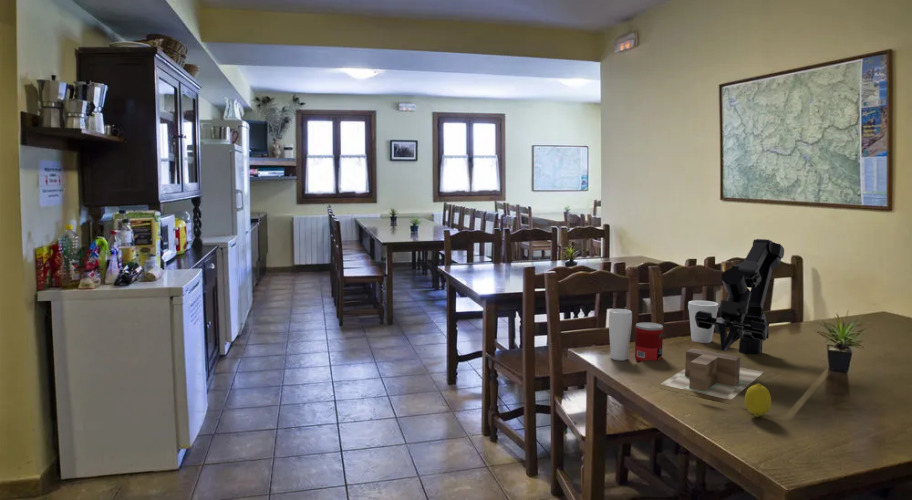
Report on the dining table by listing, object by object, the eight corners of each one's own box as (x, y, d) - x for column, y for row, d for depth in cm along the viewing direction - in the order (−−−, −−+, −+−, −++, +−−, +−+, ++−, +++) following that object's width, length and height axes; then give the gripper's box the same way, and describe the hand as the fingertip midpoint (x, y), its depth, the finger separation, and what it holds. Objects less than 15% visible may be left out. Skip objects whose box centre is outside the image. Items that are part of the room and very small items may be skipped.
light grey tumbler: (631, 356, 195) (632, 309, 194) (629, 362, 189) (631, 314, 187) (608, 354, 198) (610, 307, 196) (606, 360, 191) (608, 312, 189)
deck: (699, 363, 188) (699, 359, 188) (763, 376, 176) (764, 371, 176) (659, 388, 166) (660, 384, 166) (730, 404, 155) (730, 399, 154)
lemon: (739, 412, 149) (741, 380, 148) (761, 412, 150) (763, 379, 149) (752, 421, 144) (754, 388, 143) (775, 421, 144) (777, 387, 143)
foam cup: (685, 336, 220) (687, 299, 219) (714, 337, 218) (716, 301, 216) (688, 343, 211) (689, 305, 210) (717, 345, 209) (719, 306, 207)
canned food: (663, 364, 187) (664, 328, 186) (635, 363, 189) (636, 327, 187) (660, 357, 195) (661, 322, 193) (633, 356, 196) (634, 321, 195)
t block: (690, 372, 176) (691, 348, 175) (739, 382, 167) (740, 357, 166) (672, 384, 166) (673, 358, 165) (723, 395, 157) (724, 368, 157)
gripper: (699, 283, 182) (684, 329, 175) (770, 294, 171) (756, 344, 164) (704, 304, 190) (690, 348, 183) (772, 316, 179) (759, 363, 172)
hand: (722, 350), depth 175 cm, fingers closed
